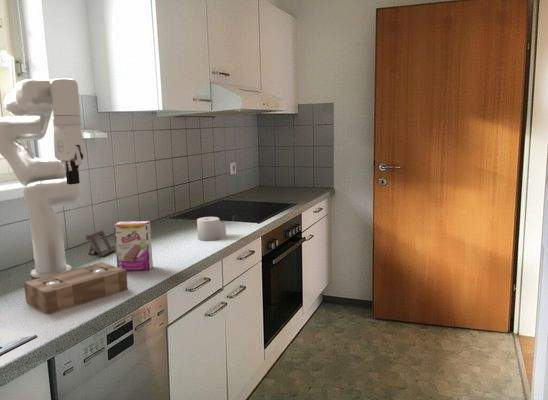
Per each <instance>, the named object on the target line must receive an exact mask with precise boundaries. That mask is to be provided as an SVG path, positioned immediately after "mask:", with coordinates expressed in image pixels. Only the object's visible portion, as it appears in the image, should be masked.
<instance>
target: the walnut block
mask: <svg viewBox="0 0 548 400" xmlns="http://www.w3.org/2000/svg"><path fill="white" fill-rule="evenodd" d="M100 268H103V269H105V271H102V272H98V273H94V272H93V270H95V269H100ZM55 280H57V281H60V283H58V284H54V285H50V286H47V285H46V283H47V282H49V281H55ZM23 284H24V285H23V286H24V293H25V302H26V303H27V304H29V305H31V306H32V307H35V308H36V309H38V310H40V311H41V312H43V313H45V314H47V315H49V314H50V315H51V314H53V313H57V312H60V311H62V310H66V309H69V308H72V307H77V306H78V305H81V304H85V303H88V302H92V301H95V300H97V299H101V298H105V297H108V296H110V295H113V294H116V293H120V292H124V291H127V290H128V275H127V271H126V270H124V269H121V268H118V267H117V266H116V265H115V266H114V265H112V264H110V263H106V262H104V261H103V262H102V261H101V262H98V263H94V264H93V263H92V264H89V265H85V266H81V267H78V268H74V269H71V270H69V271H65V272H61V273H58V274H54V275H50V276H46V277H42V278H34V279H31V280H27V281H24V282H23Z"/></svg>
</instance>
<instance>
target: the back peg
mask: <svg viewBox="0 0 548 400" xmlns="http://www.w3.org/2000/svg"><path fill="white" fill-rule="evenodd" d="M102 271H105V269H103V268H100V269H95V270H93V272H94V273H98V272H102Z"/></svg>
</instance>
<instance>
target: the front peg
mask: <svg viewBox="0 0 548 400" xmlns="http://www.w3.org/2000/svg"><path fill="white" fill-rule="evenodd" d="M58 283H60V281H57V280H55V281H49V282H47V283H46V285H47V286H50V285H54V284H58Z"/></svg>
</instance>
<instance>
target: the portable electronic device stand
mask: <svg viewBox="0 0 548 400" xmlns="http://www.w3.org/2000/svg"><path fill="white" fill-rule="evenodd" d="M101 238H102V240H103V242H104V243H105V246H106V249H105V250H104V249H103V250H101V248H100V246H99V242H100V239H101ZM85 240H86V241H88V242H89V241H91V244H90V248H89V251H88V253H87V254H88V256H89V255H92V253H96V252H97V254H98V257H101V258H103V257H104V256H106V255H109V254H110V253H113V252H114V251H115V252H116V245H113V246H111V244H110V242H109V240H108V239H107V236H106V234H105V232H104V231H103V230H102V229H100V230H97V231H95V232H92V233H89V234H87V235H86V236H85Z"/></svg>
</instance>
